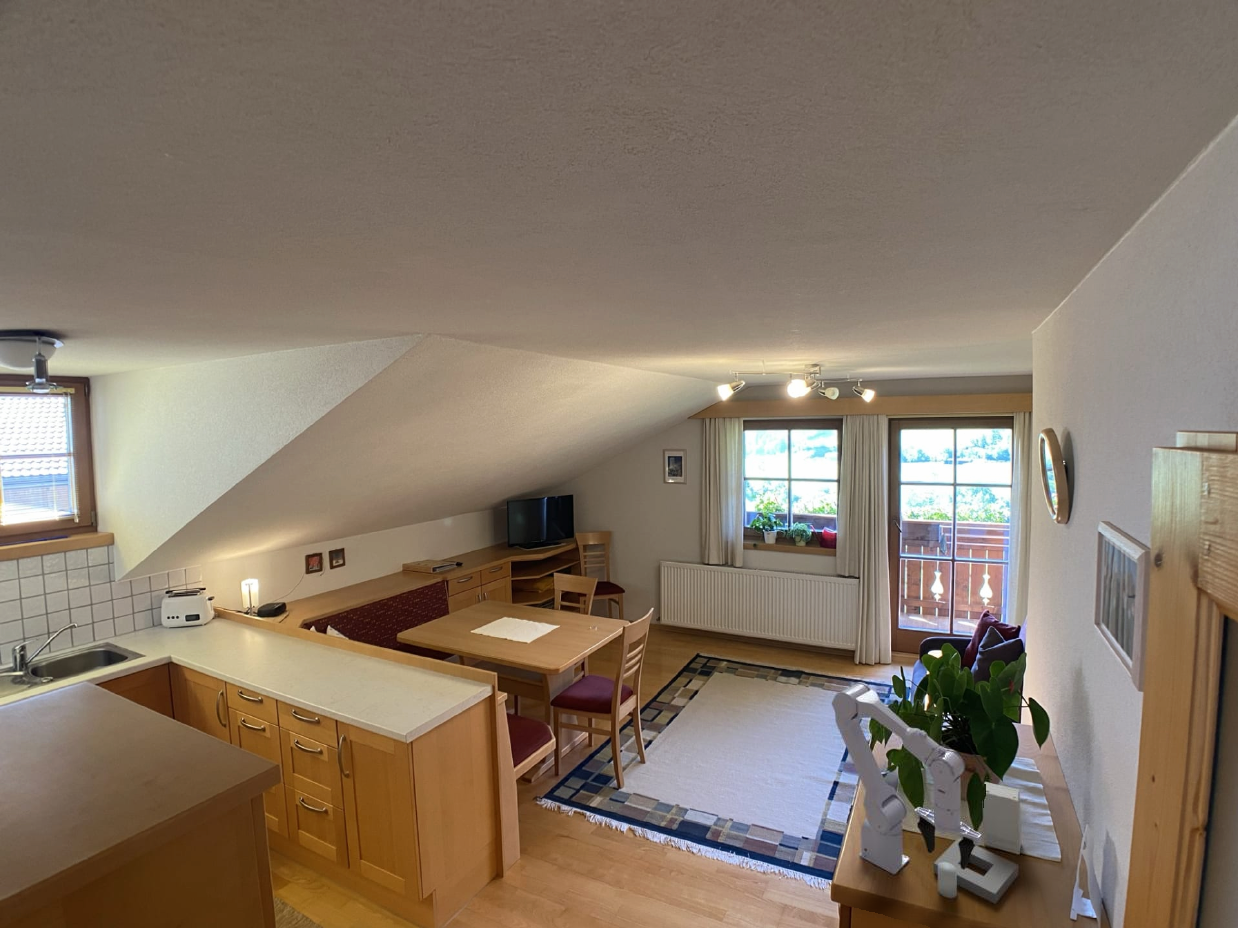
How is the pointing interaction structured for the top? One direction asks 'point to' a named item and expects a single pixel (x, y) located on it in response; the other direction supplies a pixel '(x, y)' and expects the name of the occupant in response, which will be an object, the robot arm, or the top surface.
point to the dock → (983, 886)
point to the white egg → (947, 880)
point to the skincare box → (1002, 818)
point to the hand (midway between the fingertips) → (947, 858)
